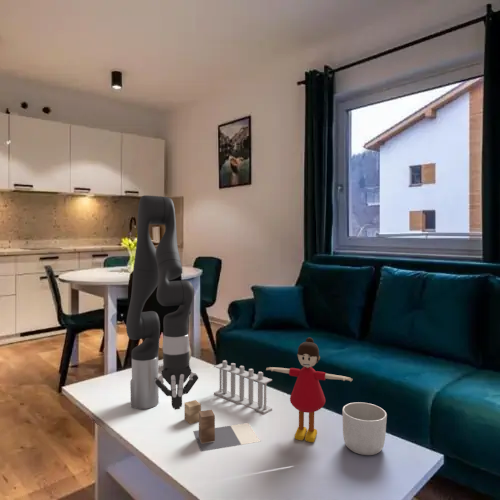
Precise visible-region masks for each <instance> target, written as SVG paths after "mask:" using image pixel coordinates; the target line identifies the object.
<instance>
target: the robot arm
mask: <svg viewBox="0 0 500 500" xmlns="http://www.w3.org/2000/svg"><path fill="white" fill-rule="evenodd" d="M137 209H138V210H137V232H136V233H137V234H136V235H137V236H136V245H135V246H136V247H135V255H134V262H133V269H132V270H133V271H132V272H133V273H132V286H131V293H130V294H131V295H130V296H131V297H130V302H129V307H128V310H127V316H126V323H125V325H126V327H125V329H126V335H127V336H128V339H130V340H133V341H136V340H143V341H142V342H141V343H140V344H138V345H136V346H134V348H133V349H132V350H131V379H130V384H129V385H130V408H135V409H141V410H146V409H151V408H152V409H153V408H154V407H156V406H157V405H158V404H159V403H160V402H159V401H160V399H159V390H161V391H162V393H163V394H165V396H166V397H171V407H172V408H173V409H174V411H176V410H181V408H182V406H183V396H184V395H185V394H186V395H187V394H188V393H189V392H190V391H191V390H192V388H193V386H194V385H195V384H196V382H197V381H198V380H199V375H198V374H197V373H195V372H193V371H192V369H191V366H190V365H191V364H190V360H189V346H190V338H189V317H190V312H191V308H192V304H193V300H194V298H195V297H194V296H195V288H194V285H193V283H192V282H191V281H189V280H185V279H184V280H175V279H178V278H180V276H181V275H182V274H183V265H182V261H181V256H180V253H179V247H178V246H179V245H178V236H177V235H178V234H177V221H176V220H177V219H176V210H175V204H174V201H173V199H172V198H171V197H168V196H161V195H160V196H159V195H142V196H141V197H140V198H139V202H138V208H137ZM150 225H159V226H161V225H163V226H164V227H165V229H164V233H163V235H162V237H161V239H160V241H159V243H158V245H157V246H156V247H155V245H154V243H153V241H152V240H153V239H152V238H151V235H150ZM156 288H157V289H156ZM155 290H156V300H157V302H158V303H159V305H161V306H162V307H172V306H179V307H178V308H177V310H176V311H173V312H169V313H167V314H165V315H164V317H163V321H162V322H163V337H162V338H163V339H162V362H163V363H162V371H160V372H161V374H160V375H159V349H160V334H161V333H160V331H161V323H160V322H161V321H160V316H159V314H158V313H157V312H156V311H153V310H149V311H143V309H144V307H145V304H146V302H147V300H148V299H149V298H150V297H151V295H152V294H153V293H154V292H155ZM187 380H188V381H187ZM165 381H166V383H167V384H169V385H170V389H169V388H168V387H167V386H166V385H165V384H164V383H165ZM186 381H187V382H186ZM184 384H185V385H184Z"/></svg>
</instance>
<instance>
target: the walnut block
mask: <svg viewBox="0 0 500 500" xmlns="http://www.w3.org/2000/svg"><path fill="white" fill-rule="evenodd" d="M215 415H216V414H215V413H214V411H213V409H207V410H201V411H199V422H198V430H199V439H200V441H201V444H203V443H209V442H215V428H216V425H215V424H216V422H215V421H216V416H215Z"/></svg>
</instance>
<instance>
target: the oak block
mask: <svg viewBox="0 0 500 500" xmlns="http://www.w3.org/2000/svg"><path fill="white" fill-rule="evenodd" d="M199 411H202V404H201V403H200V402H199V401H197V400H196V399H194V400H190V401H187V402H184V420H185V421H186V422H187V424H189V425H191V424H195V423H199Z"/></svg>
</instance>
